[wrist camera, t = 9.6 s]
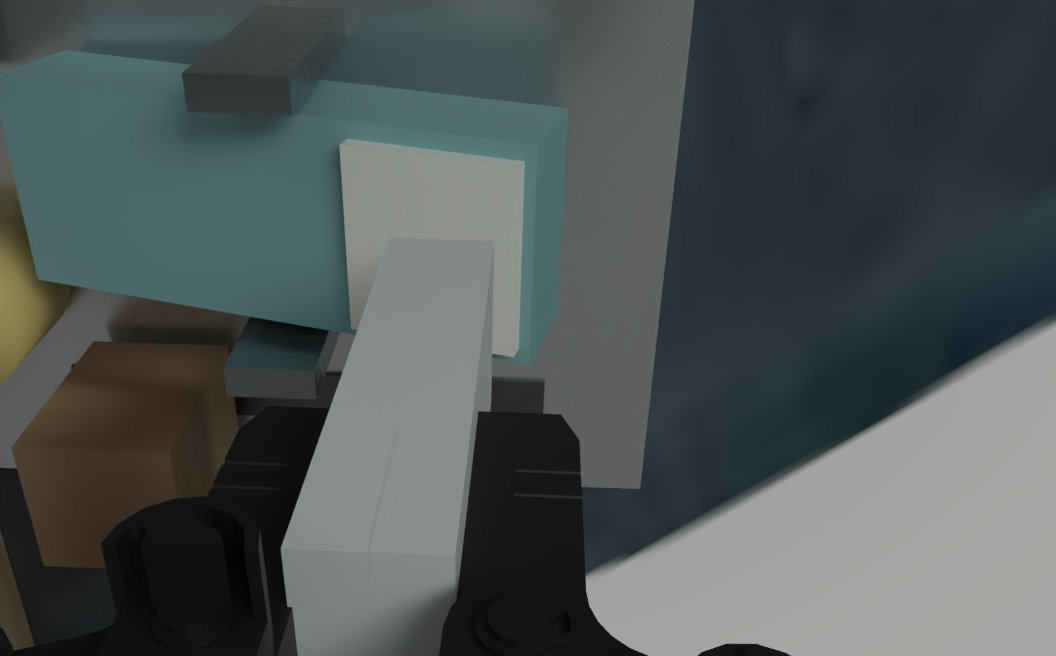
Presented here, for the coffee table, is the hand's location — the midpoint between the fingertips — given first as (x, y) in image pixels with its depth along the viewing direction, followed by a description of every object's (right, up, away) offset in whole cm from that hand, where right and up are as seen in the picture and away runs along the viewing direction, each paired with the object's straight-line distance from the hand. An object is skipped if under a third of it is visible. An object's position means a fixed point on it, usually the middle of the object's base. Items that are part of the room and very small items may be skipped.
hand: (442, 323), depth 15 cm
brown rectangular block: (-7, -2, +8) cm, 11 cm away
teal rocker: (-3, +3, +4) cm, 6 cm away
